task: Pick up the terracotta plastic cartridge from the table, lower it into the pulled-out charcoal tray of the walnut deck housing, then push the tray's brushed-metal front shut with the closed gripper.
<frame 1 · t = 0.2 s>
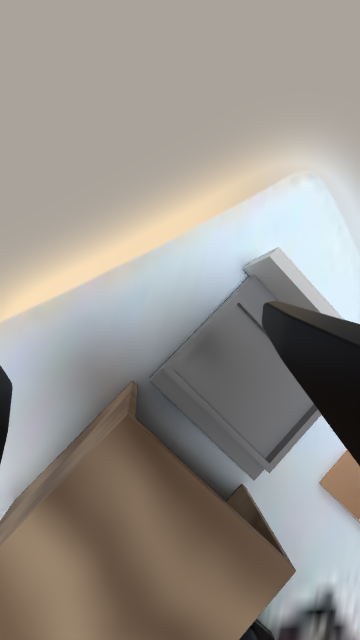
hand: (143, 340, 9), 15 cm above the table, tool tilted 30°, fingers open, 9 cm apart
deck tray: (265, 378, 22), point 3 cm above the table, slide at 14.0 cm
deck housing: (137, 494, 24), on the table
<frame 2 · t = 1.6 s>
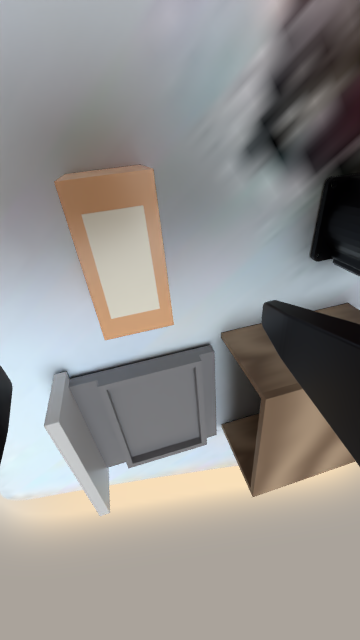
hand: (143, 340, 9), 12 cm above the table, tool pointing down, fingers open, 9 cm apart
cartridge: (119, 241, 19), on the table
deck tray: (153, 430, 26), point 3 cm above the table, slide at 14.0 cm
deck housing: (278, 371, 31), on the table
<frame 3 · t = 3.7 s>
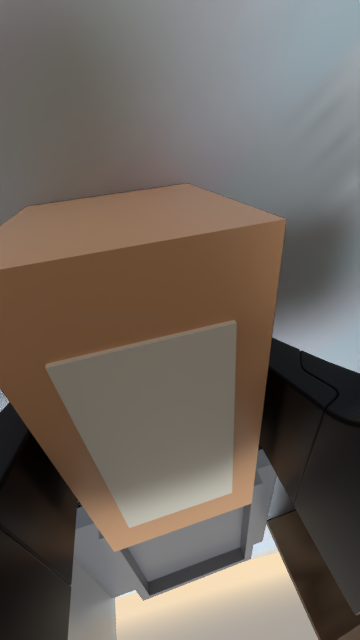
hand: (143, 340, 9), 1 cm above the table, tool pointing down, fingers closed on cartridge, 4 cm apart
cartridge: (139, 325, 10), on the table, touching gripper
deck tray: (182, 571, 17), point 3 cm above the table, slide at 14.0 cm
deck housing: (351, 458, 22), on the table
when the fingers open (3 cm above the table, at t = 8.6 s): cartridge drops 1 cm, resting on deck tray.
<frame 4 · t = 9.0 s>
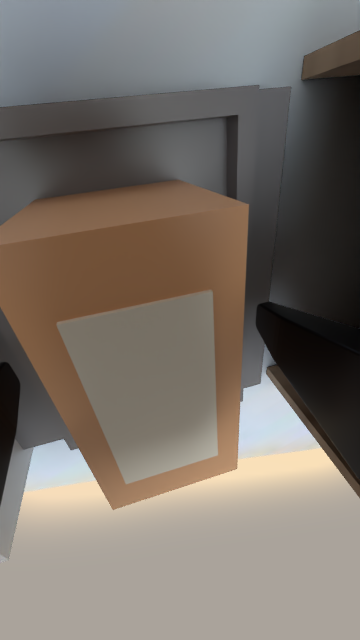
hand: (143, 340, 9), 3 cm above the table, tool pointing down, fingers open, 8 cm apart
cartridge: (136, 309, 11), point 1 cm above the table, touching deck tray
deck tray: (114, 338, 9), point 3 cm above the table, slide at 14.0 cm, touching cartridge
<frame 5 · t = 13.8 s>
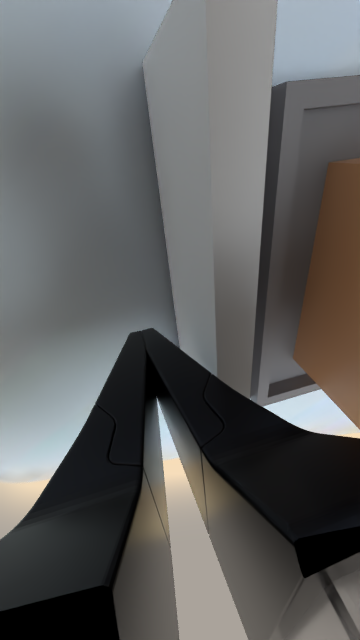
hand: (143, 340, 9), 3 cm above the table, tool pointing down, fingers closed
cartridge: (351, 271, 12), point 1 cm above the table, touching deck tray
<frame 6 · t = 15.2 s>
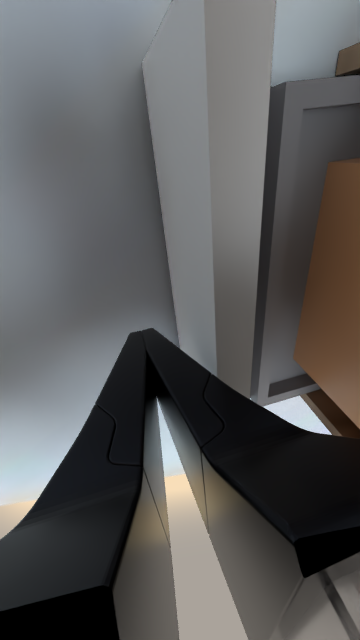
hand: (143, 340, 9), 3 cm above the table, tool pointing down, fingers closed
cartridge: (351, 271, 12), point 1 cm above the table, touching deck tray
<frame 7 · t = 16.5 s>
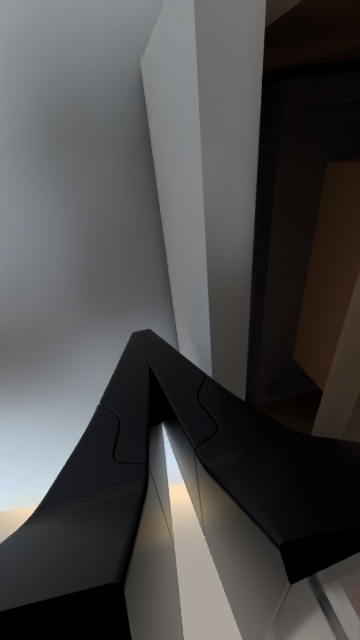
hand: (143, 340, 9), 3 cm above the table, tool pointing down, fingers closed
cartridge: (351, 271, 12), point 1 cm above the table, touching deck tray
deck housing: (337, 259, 13), on the table
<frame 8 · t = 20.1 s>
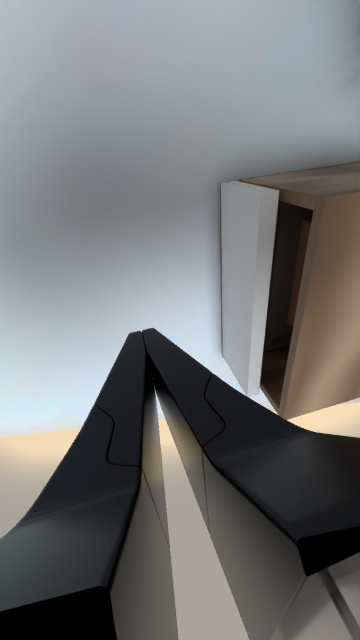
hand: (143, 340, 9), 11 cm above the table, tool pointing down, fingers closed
cartridge: (318, 271, 22), point 1 cm above the table, touching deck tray
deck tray: (320, 282, 20), point 3 cm above the table, slide at 0.1 cm, touching cartridge
deck housing: (311, 265, 23), on the table
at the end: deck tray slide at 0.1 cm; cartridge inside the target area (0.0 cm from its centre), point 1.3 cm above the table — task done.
